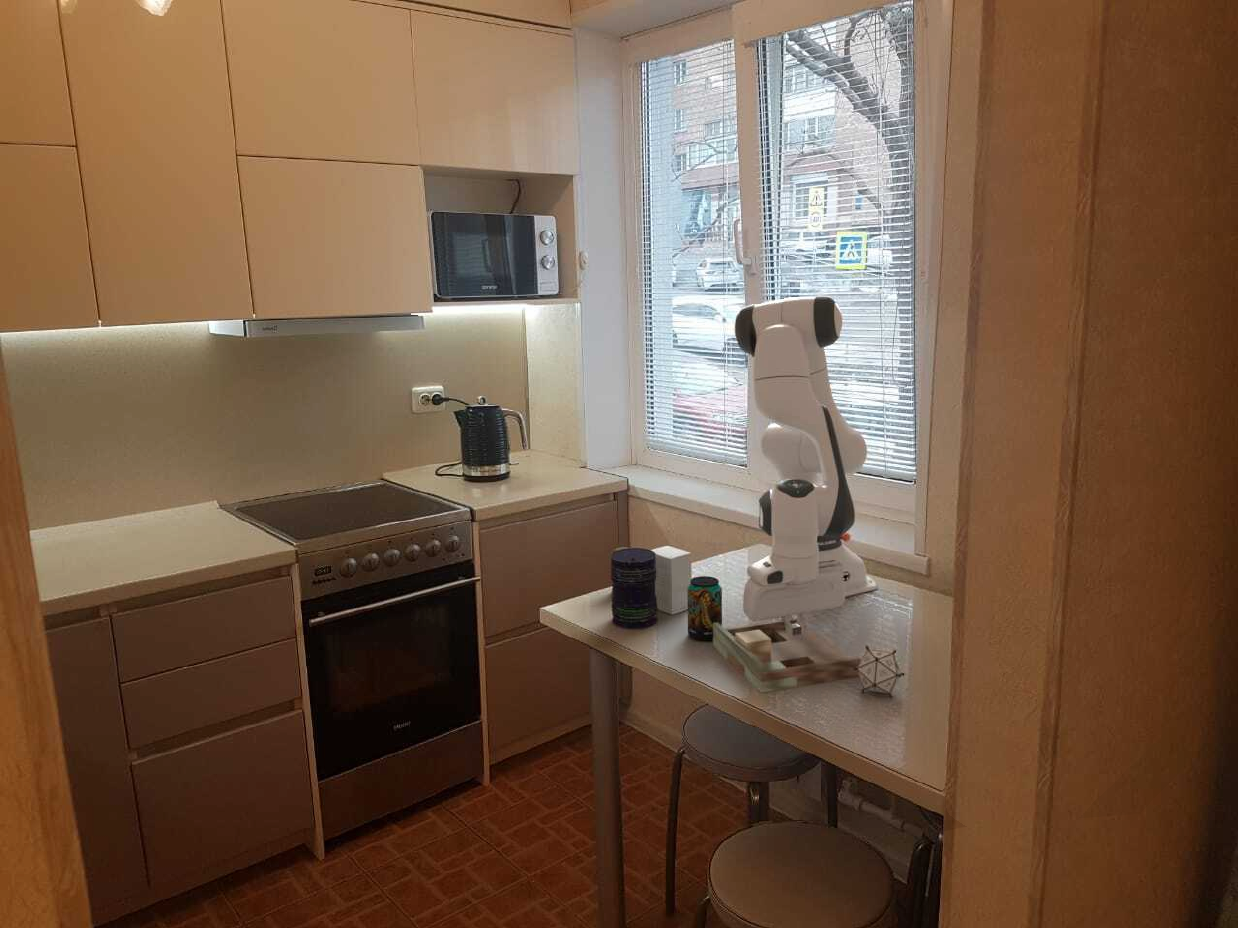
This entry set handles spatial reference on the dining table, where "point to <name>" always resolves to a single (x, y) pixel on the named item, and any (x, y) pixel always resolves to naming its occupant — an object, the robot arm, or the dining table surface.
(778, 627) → the box
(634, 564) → the storage jar
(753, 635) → the beech block
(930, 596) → the dining table surface
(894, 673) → the game die
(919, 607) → the dining table surface
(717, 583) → the beverage can
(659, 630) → the dining table surface
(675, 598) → the small box
